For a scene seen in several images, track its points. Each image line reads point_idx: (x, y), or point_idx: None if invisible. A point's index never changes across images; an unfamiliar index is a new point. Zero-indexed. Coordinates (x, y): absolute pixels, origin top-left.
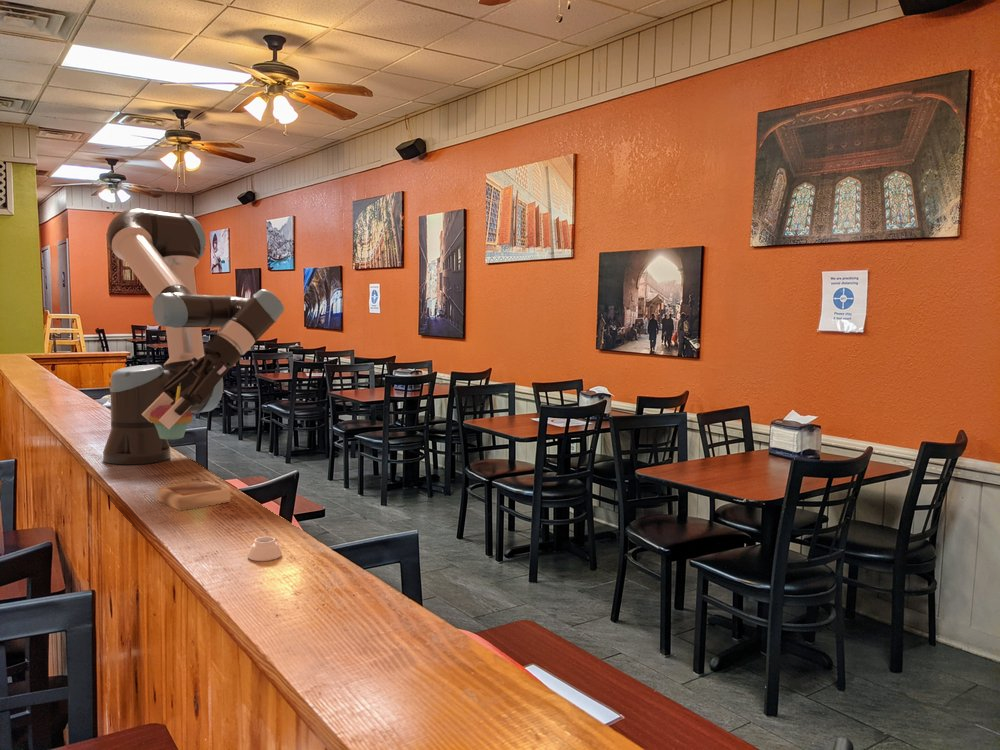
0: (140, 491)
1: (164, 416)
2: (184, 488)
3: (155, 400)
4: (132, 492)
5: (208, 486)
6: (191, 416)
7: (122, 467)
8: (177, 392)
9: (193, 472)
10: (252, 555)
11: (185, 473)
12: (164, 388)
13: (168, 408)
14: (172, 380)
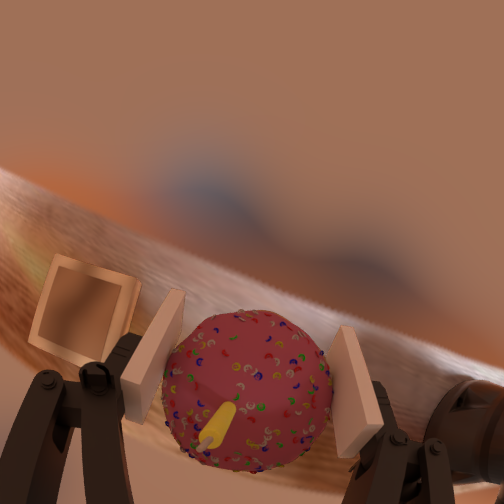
0: (231, 309)
1: (164, 302)
2: (87, 297)
3: (367, 380)
4: (235, 295)
5: (65, 335)
6: (176, 438)
7: (431, 390)
8: (213, 419)
9: (302, 472)
10: None
11: (307, 457)
12: (421, 447)
13: (220, 362)
14: (430, 494)
